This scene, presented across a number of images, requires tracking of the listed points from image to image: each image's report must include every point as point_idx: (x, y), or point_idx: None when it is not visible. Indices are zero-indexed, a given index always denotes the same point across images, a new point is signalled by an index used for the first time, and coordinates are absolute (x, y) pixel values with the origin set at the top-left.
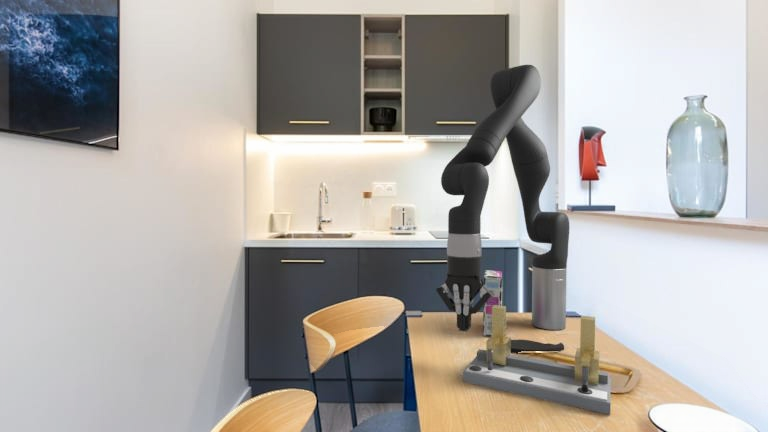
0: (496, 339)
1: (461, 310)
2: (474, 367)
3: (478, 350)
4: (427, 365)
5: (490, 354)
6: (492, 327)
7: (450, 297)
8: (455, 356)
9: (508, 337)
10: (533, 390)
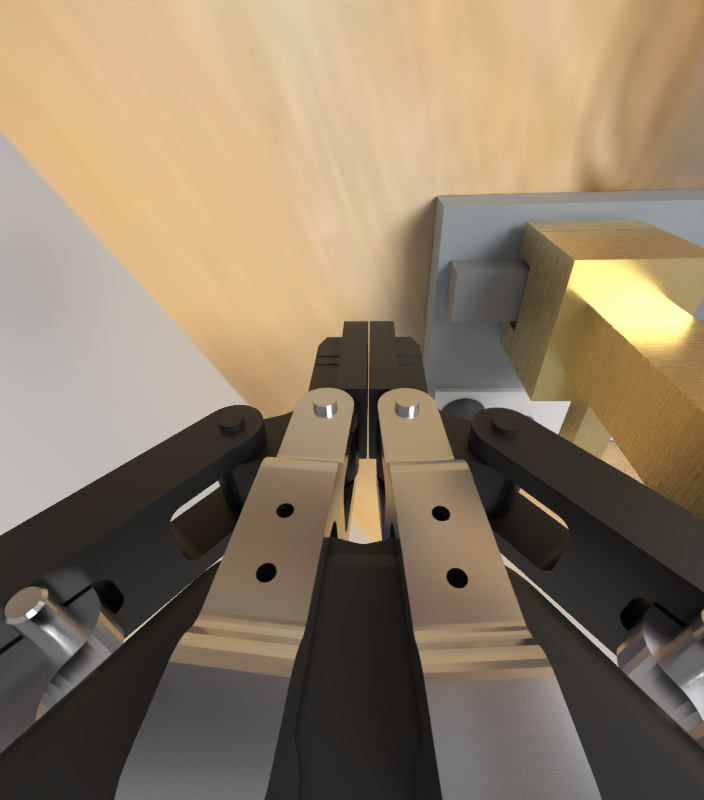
0: (601, 438)
1: (355, 484)
2: (458, 414)
3: (456, 296)
4: (250, 359)
5: None
6: (606, 424)
7: (164, 529)
8: (299, 196)
9: (700, 272)
10: None
